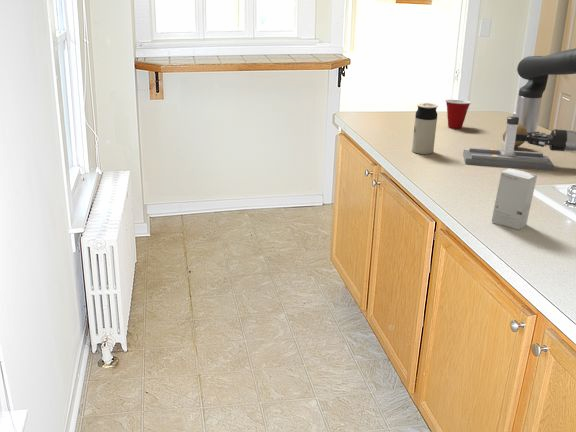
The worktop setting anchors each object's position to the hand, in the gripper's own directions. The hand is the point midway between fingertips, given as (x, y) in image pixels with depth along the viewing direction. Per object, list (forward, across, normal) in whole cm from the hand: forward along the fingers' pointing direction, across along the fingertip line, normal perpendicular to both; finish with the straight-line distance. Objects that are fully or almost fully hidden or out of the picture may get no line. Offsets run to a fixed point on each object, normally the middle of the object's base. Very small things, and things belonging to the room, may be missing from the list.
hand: (514, 137), depth 237 cm
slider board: (+2, 0, +10) cm, 10 cm away
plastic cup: (+17, -51, +10) cm, 55 cm away
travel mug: (+32, -6, +10) cm, 34 cm away
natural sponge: (-4, -22, +10) cm, 24 cm away
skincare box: (+9, +63, +10) cm, 65 cm away
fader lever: (+1, 0, +7) cm, 7 cm away
